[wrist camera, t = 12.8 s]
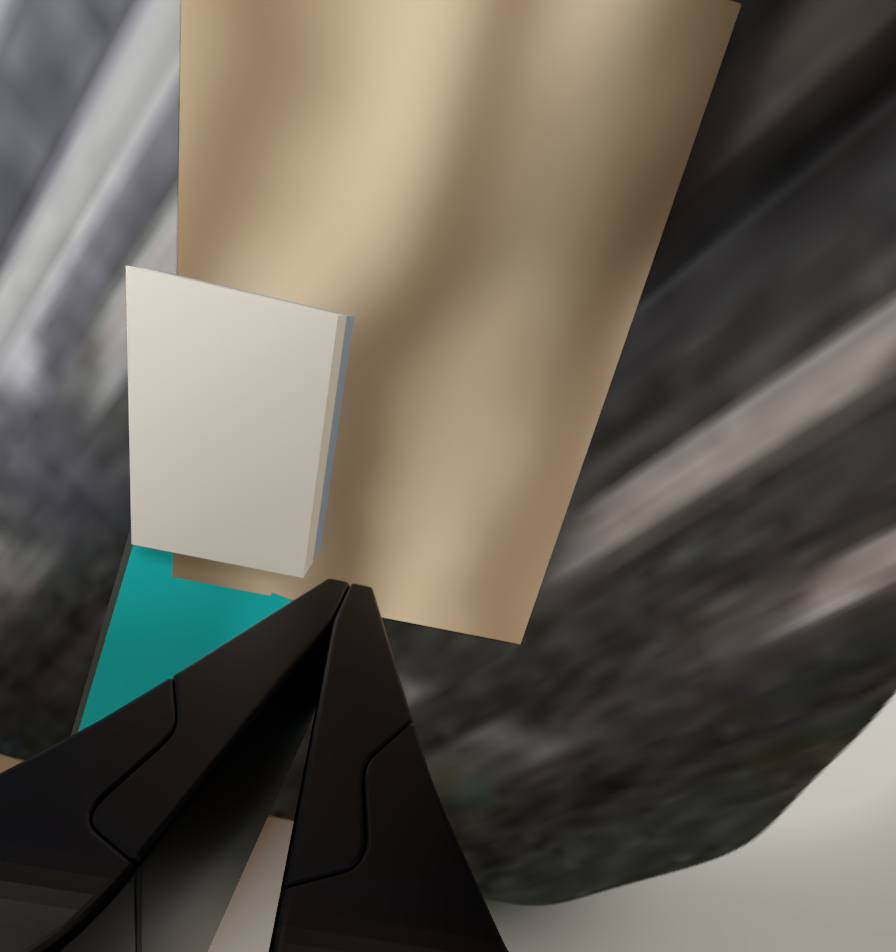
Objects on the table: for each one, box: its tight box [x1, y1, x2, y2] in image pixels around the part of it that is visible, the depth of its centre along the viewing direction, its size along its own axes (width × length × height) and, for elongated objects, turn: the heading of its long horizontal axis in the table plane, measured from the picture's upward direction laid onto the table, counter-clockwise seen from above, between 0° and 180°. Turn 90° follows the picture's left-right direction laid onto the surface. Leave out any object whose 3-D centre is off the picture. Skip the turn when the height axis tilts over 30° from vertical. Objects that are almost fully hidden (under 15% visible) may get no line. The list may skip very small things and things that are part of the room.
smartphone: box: [71, 529, 293, 736], centre depth 21 cm, size 7×1×15 cm
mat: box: [172, 0, 742, 644], centre depth 15 cm, size 15×22×1 cm
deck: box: [126, 266, 354, 578], centre depth 15 cm, size 2×9×6 cm
